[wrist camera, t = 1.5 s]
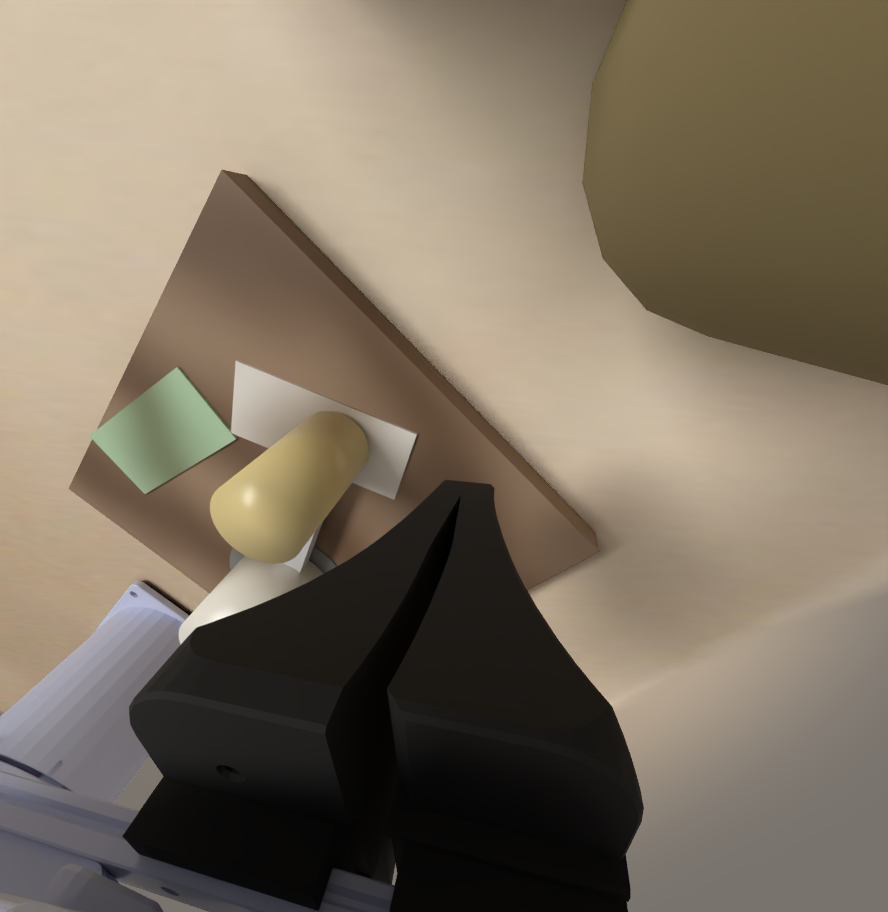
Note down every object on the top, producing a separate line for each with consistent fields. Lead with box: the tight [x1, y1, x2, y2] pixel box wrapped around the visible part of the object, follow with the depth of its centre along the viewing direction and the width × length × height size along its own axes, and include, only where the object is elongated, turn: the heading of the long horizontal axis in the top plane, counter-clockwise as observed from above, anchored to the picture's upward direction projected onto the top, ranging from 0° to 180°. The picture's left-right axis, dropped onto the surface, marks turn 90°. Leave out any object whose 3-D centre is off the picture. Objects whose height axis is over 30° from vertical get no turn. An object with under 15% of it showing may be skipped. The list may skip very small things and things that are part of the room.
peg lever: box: [179, 411, 369, 645], centre depth 16 cm, size 13×5×5 cm, turn 156°
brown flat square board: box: [69, 170, 599, 593], centre depth 19 cm, size 18×18×1 cm
